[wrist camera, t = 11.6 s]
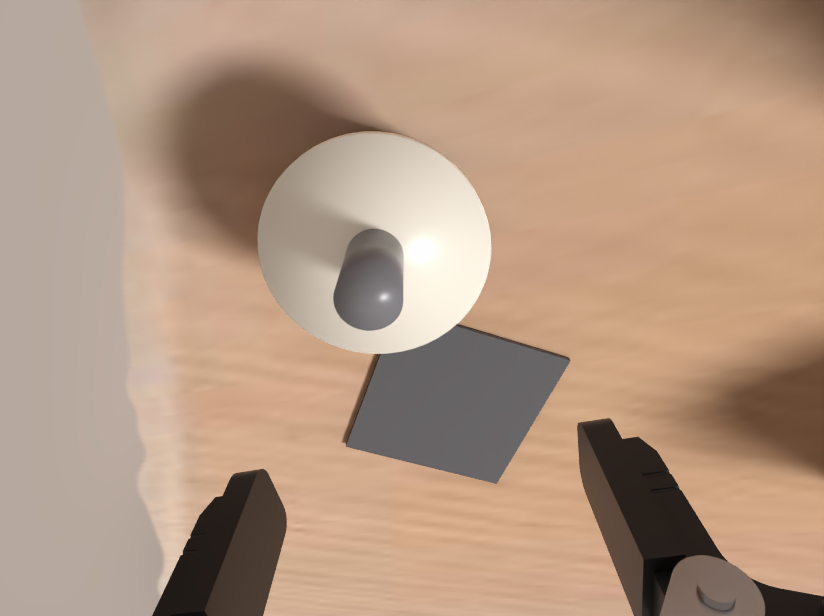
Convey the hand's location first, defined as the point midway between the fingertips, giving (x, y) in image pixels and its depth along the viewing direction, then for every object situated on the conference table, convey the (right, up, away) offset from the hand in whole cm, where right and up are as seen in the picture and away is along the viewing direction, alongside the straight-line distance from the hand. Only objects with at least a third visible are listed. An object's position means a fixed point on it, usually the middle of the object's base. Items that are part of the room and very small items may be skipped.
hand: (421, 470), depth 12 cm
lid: (-2, +8, +15) cm, 17 cm away
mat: (+3, -4, +29) cm, 30 cm away
